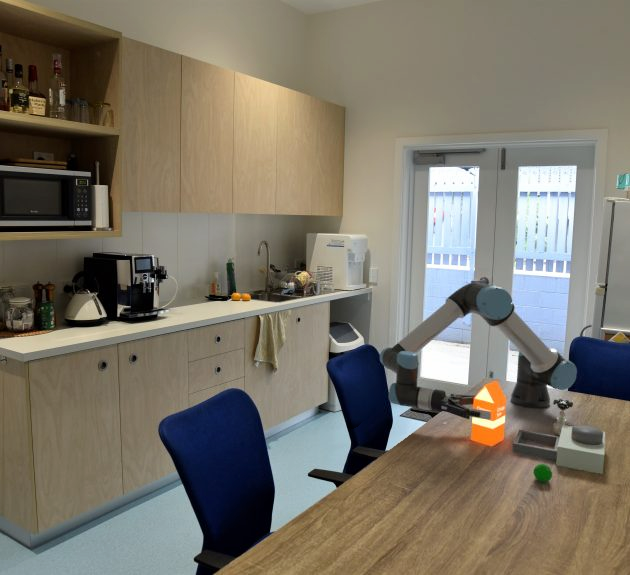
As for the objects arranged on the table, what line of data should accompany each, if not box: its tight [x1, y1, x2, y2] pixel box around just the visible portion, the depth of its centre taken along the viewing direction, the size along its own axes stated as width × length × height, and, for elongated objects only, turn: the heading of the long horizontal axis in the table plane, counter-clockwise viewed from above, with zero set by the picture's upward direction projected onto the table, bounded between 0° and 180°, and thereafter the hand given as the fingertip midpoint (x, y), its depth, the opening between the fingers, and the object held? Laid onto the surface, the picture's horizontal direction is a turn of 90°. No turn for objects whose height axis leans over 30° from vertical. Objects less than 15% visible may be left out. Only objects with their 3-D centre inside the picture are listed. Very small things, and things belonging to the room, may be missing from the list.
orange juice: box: [470, 380, 507, 447], centre depth 203 cm, size 8×9×20 cm
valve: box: [552, 398, 574, 436], centre depth 210 cm, size 7×7×12 cm
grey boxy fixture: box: [512, 424, 606, 475], centre depth 194 cm, size 22×26×9 cm
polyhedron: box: [532, 463, 553, 483], centre depth 173 cm, size 5×5×5 cm
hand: (494, 409), depth 202 cm, fingers open, 13 cm apart
